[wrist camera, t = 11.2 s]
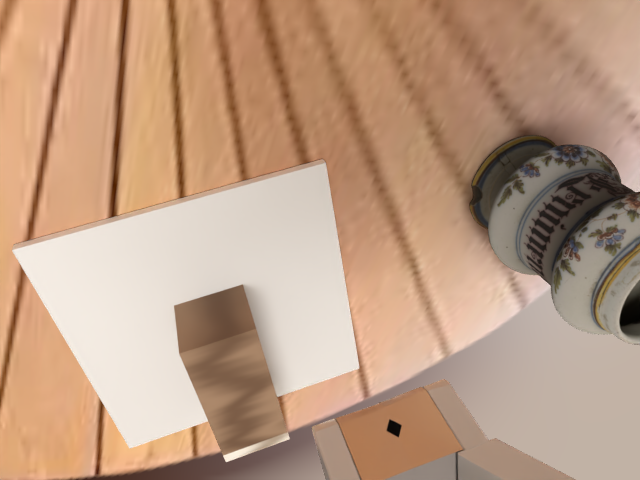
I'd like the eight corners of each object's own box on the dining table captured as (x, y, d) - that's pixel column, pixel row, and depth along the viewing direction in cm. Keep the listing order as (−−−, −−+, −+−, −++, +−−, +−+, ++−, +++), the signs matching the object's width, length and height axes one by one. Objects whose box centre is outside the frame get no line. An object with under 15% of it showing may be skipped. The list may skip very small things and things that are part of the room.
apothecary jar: (456, 143, 46) (610, 252, 31) (577, 108, 48) (776, 194, 33) (458, 255, 52) (585, 387, 38) (564, 220, 54) (724, 333, 40)
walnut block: (256, 328, 41) (289, 439, 48) (242, 284, 46) (275, 390, 53) (179, 353, 40) (226, 462, 48) (173, 305, 45) (217, 410, 52)
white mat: (322, 158, 43) (325, 162, 42) (356, 363, 56) (359, 368, 55) (14, 244, 39) (11, 250, 38) (129, 441, 52) (129, 448, 51)
